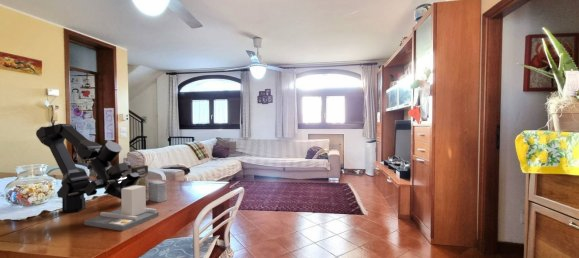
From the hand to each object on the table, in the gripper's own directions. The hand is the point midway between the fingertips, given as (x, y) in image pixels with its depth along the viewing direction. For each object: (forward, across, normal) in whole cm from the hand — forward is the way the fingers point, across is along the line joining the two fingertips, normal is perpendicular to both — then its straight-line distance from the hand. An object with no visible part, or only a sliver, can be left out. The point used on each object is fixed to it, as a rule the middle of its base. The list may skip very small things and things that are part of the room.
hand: (126, 199), depth 97 cm
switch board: (+6, -2, +4) cm, 7 cm away
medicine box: (0, +22, +10) cm, 24 cm away
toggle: (+6, 0, +1) cm, 6 cm away
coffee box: (-7, +19, +16) cm, 26 cm away
